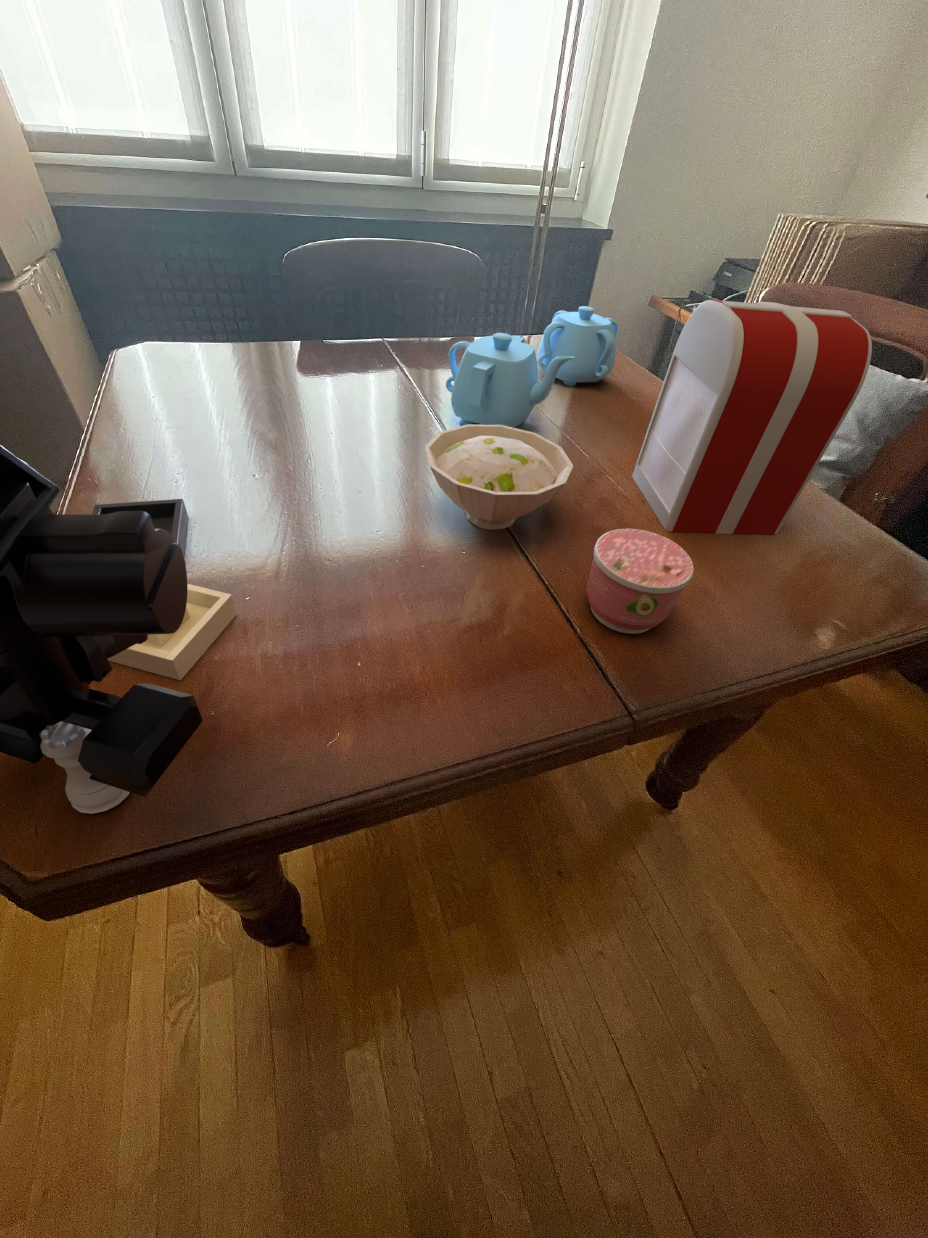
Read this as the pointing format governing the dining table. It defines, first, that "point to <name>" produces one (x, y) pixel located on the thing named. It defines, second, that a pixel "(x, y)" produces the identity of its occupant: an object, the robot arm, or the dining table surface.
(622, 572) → the container
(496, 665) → the dining table surface
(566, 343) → the decorative pot
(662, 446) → the red striped display case
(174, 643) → the cream tray
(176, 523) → the charcoal tray
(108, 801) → the rook chess piece
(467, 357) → the teapot
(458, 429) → the bowl
